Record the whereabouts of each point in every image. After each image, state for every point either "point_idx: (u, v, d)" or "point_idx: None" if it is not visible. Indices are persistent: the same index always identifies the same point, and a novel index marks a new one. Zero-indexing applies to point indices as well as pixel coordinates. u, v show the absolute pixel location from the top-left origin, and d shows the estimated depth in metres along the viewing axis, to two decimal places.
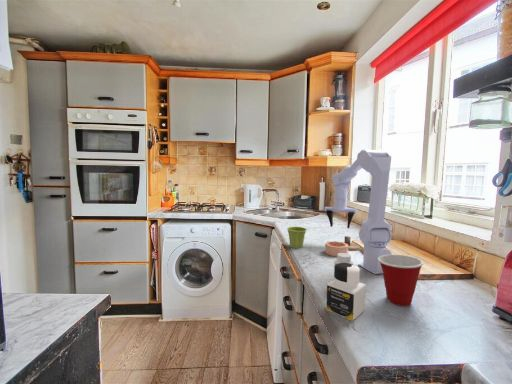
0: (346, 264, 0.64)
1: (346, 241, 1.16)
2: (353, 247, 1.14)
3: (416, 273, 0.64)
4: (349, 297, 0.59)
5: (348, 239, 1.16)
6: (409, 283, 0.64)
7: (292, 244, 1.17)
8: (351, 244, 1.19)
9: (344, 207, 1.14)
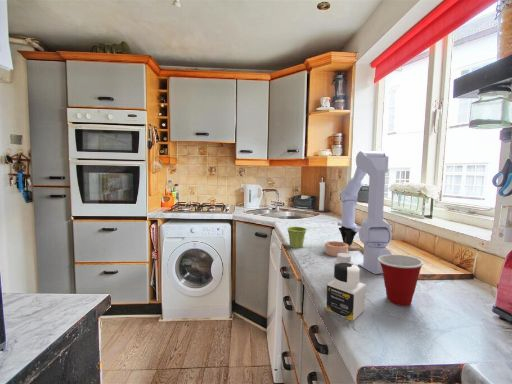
0: (346, 264, 0.64)
1: (346, 241, 1.16)
2: (353, 247, 1.14)
3: (416, 273, 0.64)
4: (349, 297, 0.59)
5: None
6: (409, 283, 0.64)
7: (292, 244, 1.17)
8: (351, 244, 1.19)
9: (347, 224, 1.14)
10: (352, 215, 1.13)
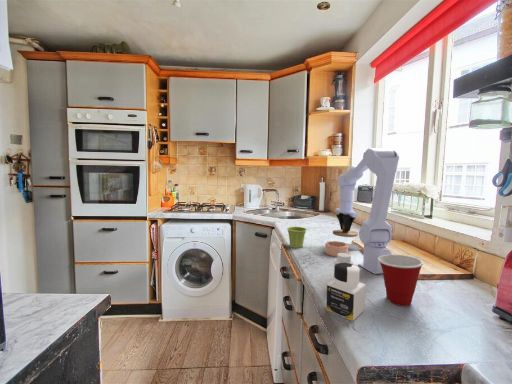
0: (346, 264, 0.64)
1: None
2: (351, 234, 1.10)
3: (416, 273, 0.64)
4: (349, 297, 0.59)
5: None
6: (409, 283, 0.64)
7: (292, 244, 1.17)
8: (349, 231, 1.16)
9: (344, 209, 1.11)
10: (350, 201, 1.10)
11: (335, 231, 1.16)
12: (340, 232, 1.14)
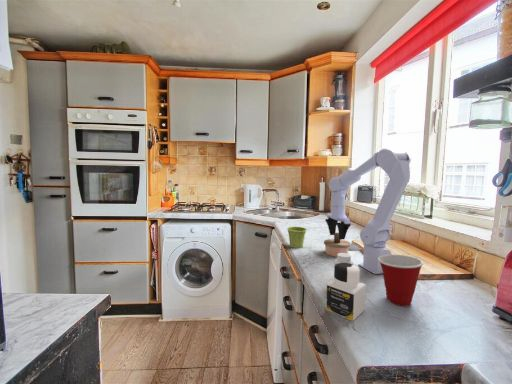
0: (346, 264, 0.64)
1: (336, 238, 1.06)
2: (343, 244, 1.04)
3: (416, 273, 0.64)
4: (349, 297, 0.59)
5: (338, 236, 1.06)
6: (409, 283, 0.64)
7: (292, 244, 1.17)
8: (341, 241, 1.09)
9: (336, 215, 1.04)
10: (344, 206, 1.04)
11: (326, 241, 1.09)
12: (332, 242, 1.07)
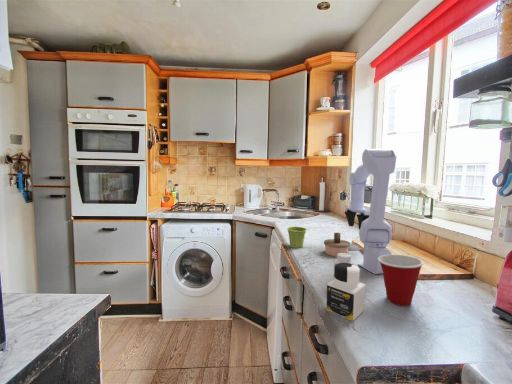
0: (346, 264, 0.64)
1: (336, 238, 1.06)
2: (343, 244, 1.04)
3: (416, 273, 0.64)
4: (349, 297, 0.59)
5: (338, 236, 1.06)
6: (409, 283, 0.64)
7: (292, 244, 1.17)
8: (341, 241, 1.09)
9: (356, 207, 1.12)
10: (360, 199, 1.11)
11: (326, 241, 1.09)
12: (332, 242, 1.07)
